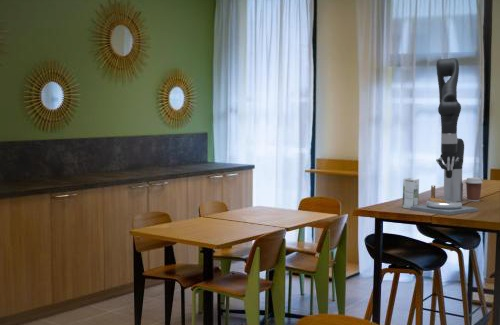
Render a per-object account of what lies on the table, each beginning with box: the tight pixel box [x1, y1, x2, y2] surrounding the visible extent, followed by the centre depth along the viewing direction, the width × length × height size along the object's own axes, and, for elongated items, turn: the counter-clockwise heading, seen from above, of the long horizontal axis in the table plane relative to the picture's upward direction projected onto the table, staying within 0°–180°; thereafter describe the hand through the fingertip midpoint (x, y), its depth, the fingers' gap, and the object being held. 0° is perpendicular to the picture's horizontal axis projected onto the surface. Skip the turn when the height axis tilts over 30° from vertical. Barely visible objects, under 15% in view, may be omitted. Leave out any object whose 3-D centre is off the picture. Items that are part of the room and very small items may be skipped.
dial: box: [426, 184, 463, 209], centre depth 315 cm, size 20×16×9 cm
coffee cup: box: [464, 177, 484, 202], centre depth 353 cm, size 9×9×12 cm
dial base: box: [410, 204, 479, 216], centre depth 314 cm, size 22×22×2 cm
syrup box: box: [402, 177, 420, 209], centre depth 322 cm, size 6×6×14 cm
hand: (448, 178), depth 324 cm, fingers closed
